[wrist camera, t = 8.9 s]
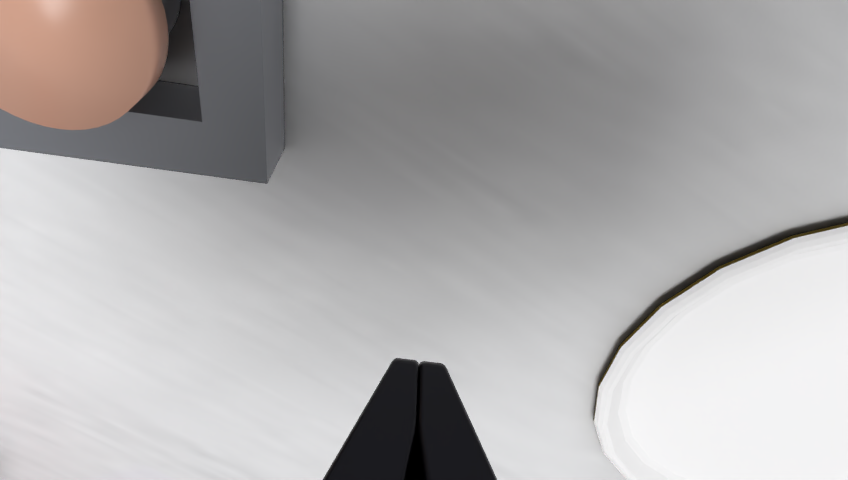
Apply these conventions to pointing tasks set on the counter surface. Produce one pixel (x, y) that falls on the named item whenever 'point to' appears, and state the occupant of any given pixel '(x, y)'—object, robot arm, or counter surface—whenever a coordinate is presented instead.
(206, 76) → the panel
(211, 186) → the counter surface
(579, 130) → the counter surface
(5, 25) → the terracotta button
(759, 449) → the plate
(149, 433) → the counter surface
